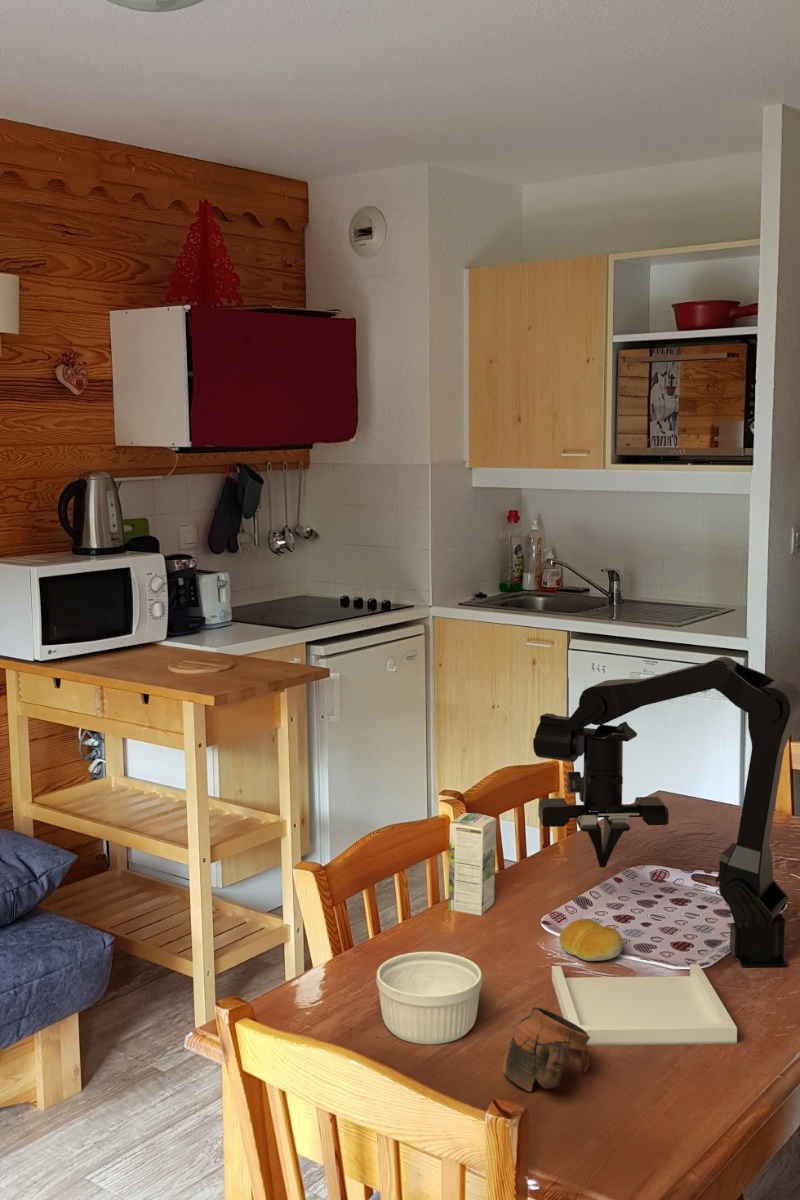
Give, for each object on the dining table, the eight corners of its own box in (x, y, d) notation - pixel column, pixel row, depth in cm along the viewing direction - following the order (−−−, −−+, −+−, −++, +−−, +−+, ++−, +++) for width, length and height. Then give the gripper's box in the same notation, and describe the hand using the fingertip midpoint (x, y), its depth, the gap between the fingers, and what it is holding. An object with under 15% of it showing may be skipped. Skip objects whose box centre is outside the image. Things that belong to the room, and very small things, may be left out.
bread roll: (597, 967, 165) (596, 940, 165) (550, 949, 172) (549, 923, 172) (636, 950, 170) (635, 923, 170) (589, 933, 177) (588, 907, 177)
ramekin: (457, 994, 159) (457, 944, 158) (499, 1039, 147) (499, 985, 146) (363, 1011, 155) (362, 959, 154) (398, 1059, 142) (398, 1003, 141)
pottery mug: (489, 1060, 142) (517, 994, 143) (559, 1092, 142) (587, 1026, 144) (511, 1092, 130) (542, 1020, 131) (588, 1127, 131) (618, 1055, 132)
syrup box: (461, 898, 192) (461, 811, 190) (496, 904, 190) (496, 815, 188) (448, 911, 187) (447, 821, 185) (483, 917, 185) (483, 826, 183)
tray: (698, 978, 163) (698, 964, 163) (736, 1043, 145) (737, 1028, 145) (551, 980, 163) (551, 966, 162) (571, 1045, 145) (572, 1030, 145)
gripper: (653, 751, 187) (652, 848, 189) (533, 753, 186) (533, 849, 188) (670, 770, 175) (668, 873, 177) (543, 772, 175) (542, 874, 177)
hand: (602, 866), depth 180 cm, fingers closed
